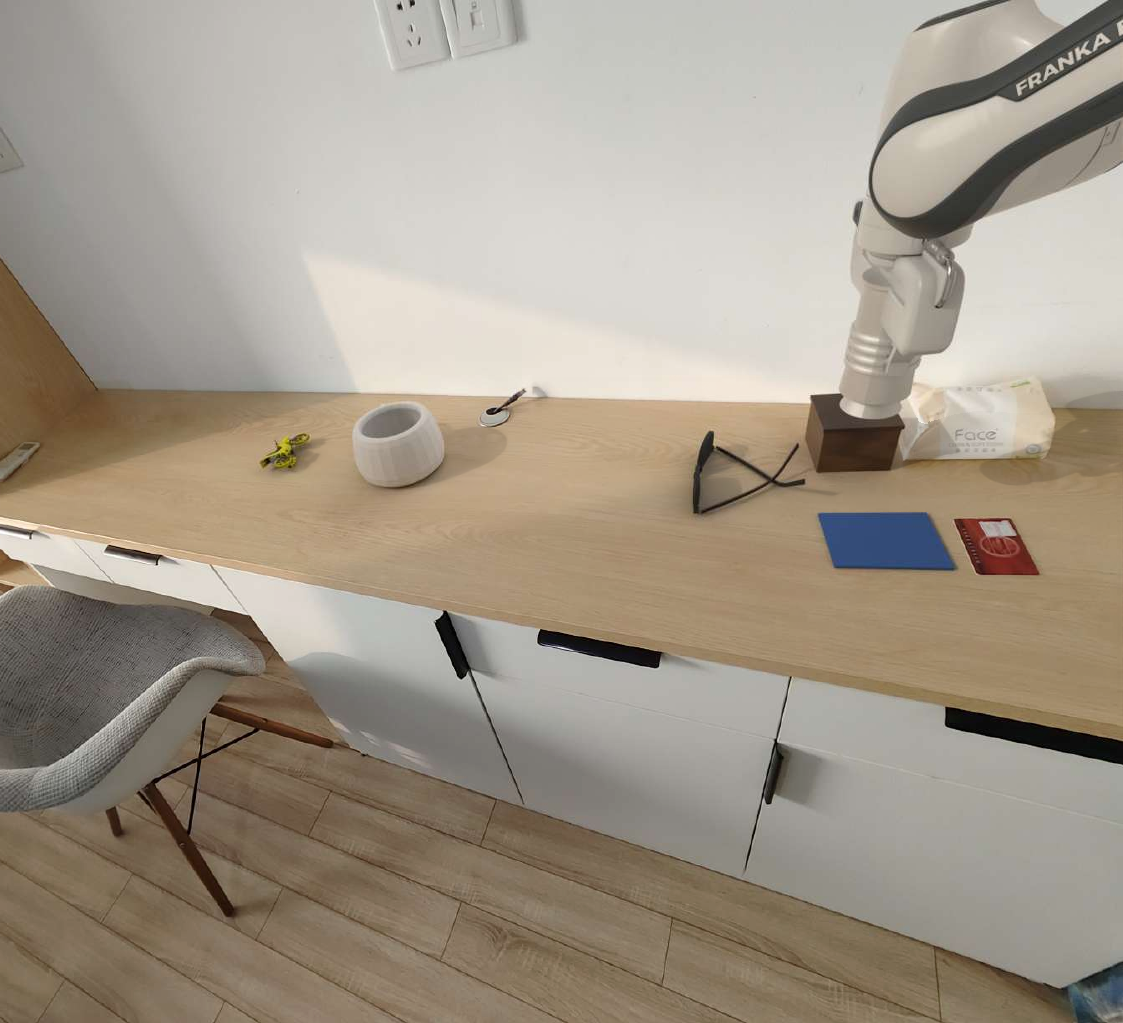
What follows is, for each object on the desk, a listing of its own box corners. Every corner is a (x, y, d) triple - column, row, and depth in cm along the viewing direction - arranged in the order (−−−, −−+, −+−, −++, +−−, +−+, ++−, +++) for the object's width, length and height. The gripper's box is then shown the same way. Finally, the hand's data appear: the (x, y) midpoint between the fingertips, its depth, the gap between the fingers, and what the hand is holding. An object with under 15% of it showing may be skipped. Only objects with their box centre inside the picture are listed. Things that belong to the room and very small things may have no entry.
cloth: (925, 514, 77) (926, 512, 77) (954, 570, 70) (955, 567, 70) (817, 514, 81) (818, 512, 81) (834, 567, 74) (834, 565, 74)
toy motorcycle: (284, 459, 118) (253, 461, 120) (291, 474, 120) (261, 476, 122) (308, 425, 126) (279, 428, 129) (315, 441, 129) (287, 443, 131)
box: (874, 434, 91) (885, 390, 87) (892, 471, 85) (905, 425, 80) (803, 437, 94) (810, 394, 90) (815, 473, 88) (823, 429, 83)
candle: (858, 384, 73) (887, 257, 64) (920, 402, 68) (962, 267, 59) (820, 408, 71) (845, 280, 62) (882, 428, 66) (919, 292, 57)
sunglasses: (799, 528, 80) (805, 498, 77) (684, 514, 87) (684, 487, 84) (804, 455, 91) (809, 427, 88) (701, 448, 98) (702, 422, 95)
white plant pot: (458, 473, 108) (446, 425, 101) (368, 504, 106) (351, 457, 100) (430, 421, 125) (418, 377, 118) (352, 446, 123) (336, 403, 117)
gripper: (1005, 252, 49) (953, 402, 57) (919, 187, 64) (889, 313, 72) (911, 263, 51) (874, 407, 59) (849, 197, 66) (827, 319, 74)
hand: (882, 355), depth 66 cm, fingers closed on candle, 7 cm apart
